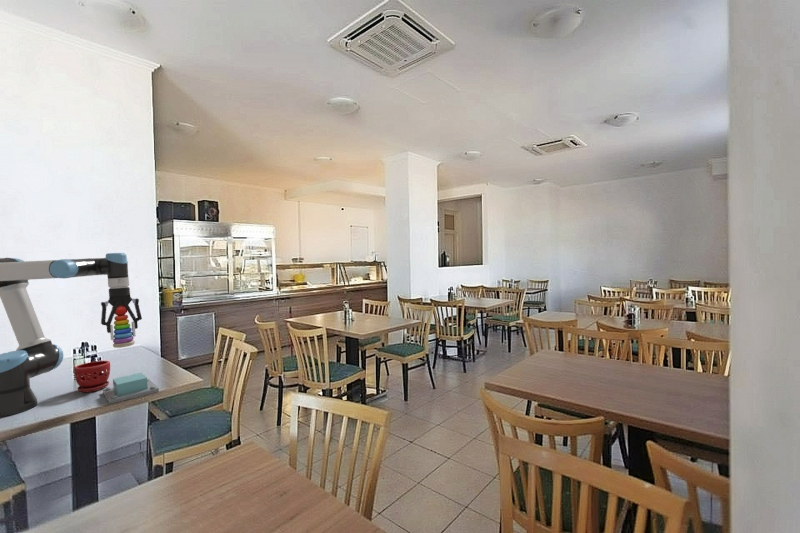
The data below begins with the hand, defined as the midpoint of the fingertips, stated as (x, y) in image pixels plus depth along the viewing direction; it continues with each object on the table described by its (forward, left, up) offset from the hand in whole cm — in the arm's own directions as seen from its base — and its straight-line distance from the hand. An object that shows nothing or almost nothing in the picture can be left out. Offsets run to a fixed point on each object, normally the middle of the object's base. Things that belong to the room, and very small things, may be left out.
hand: (123, 337), depth 168 cm
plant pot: (-10, +20, -26) cm, 34 cm away
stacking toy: (0, 0, -4) cm, 4 cm away
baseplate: (+1, 0, -26) cm, 26 cm away
